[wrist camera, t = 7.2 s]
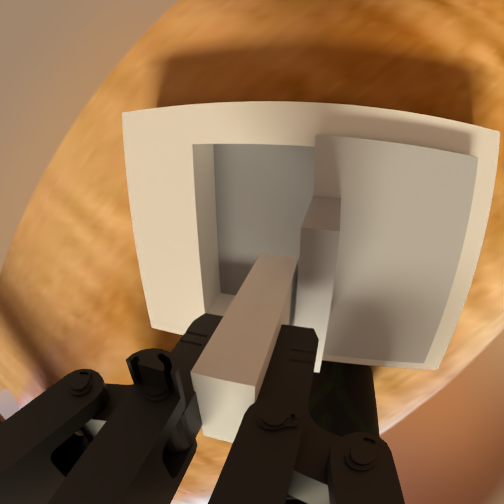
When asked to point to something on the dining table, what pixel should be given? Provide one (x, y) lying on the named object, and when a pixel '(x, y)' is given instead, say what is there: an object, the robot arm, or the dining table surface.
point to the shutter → (381, 245)
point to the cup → (342, 401)
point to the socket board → (263, 197)
